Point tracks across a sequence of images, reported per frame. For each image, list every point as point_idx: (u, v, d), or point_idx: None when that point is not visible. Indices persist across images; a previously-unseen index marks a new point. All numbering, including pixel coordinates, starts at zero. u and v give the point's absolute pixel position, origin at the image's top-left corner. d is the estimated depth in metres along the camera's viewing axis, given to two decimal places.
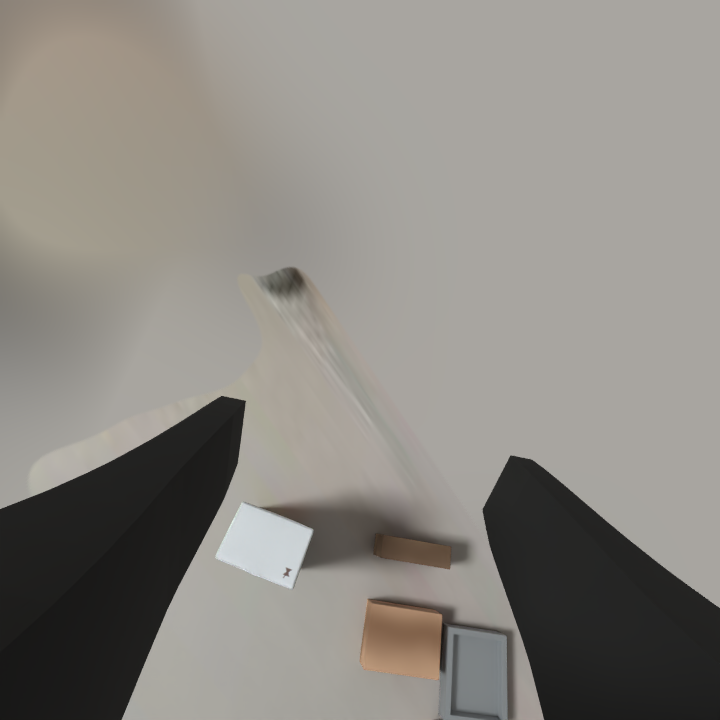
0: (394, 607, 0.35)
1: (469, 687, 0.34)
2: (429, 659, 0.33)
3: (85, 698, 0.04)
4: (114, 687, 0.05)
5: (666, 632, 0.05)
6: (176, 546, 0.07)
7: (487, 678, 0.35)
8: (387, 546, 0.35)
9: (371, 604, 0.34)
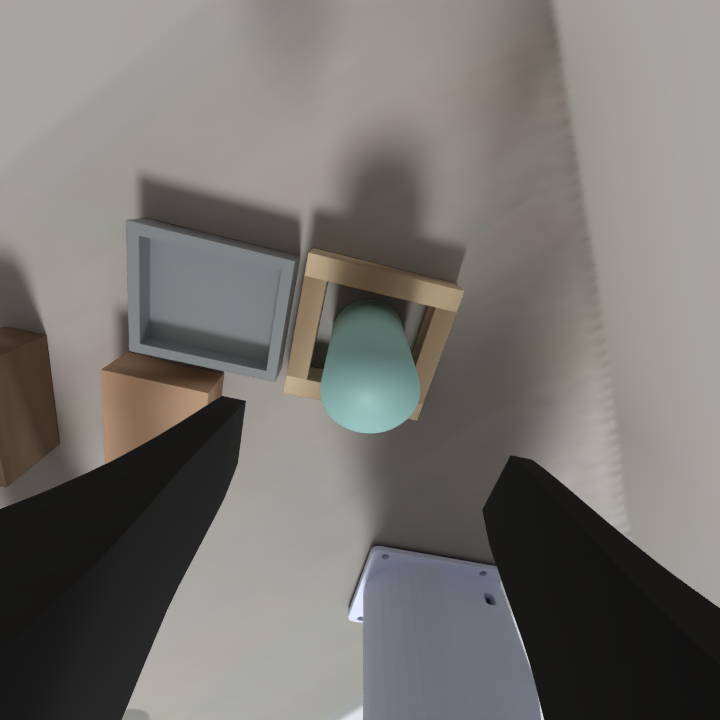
0: (106, 447, 0.19)
1: (238, 314, 0.17)
2: (177, 404, 0.18)
3: (85, 698, 0.04)
4: (114, 687, 0.05)
5: (666, 632, 0.05)
6: (176, 545, 0.07)
7: (223, 273, 0.17)
8: None
9: None
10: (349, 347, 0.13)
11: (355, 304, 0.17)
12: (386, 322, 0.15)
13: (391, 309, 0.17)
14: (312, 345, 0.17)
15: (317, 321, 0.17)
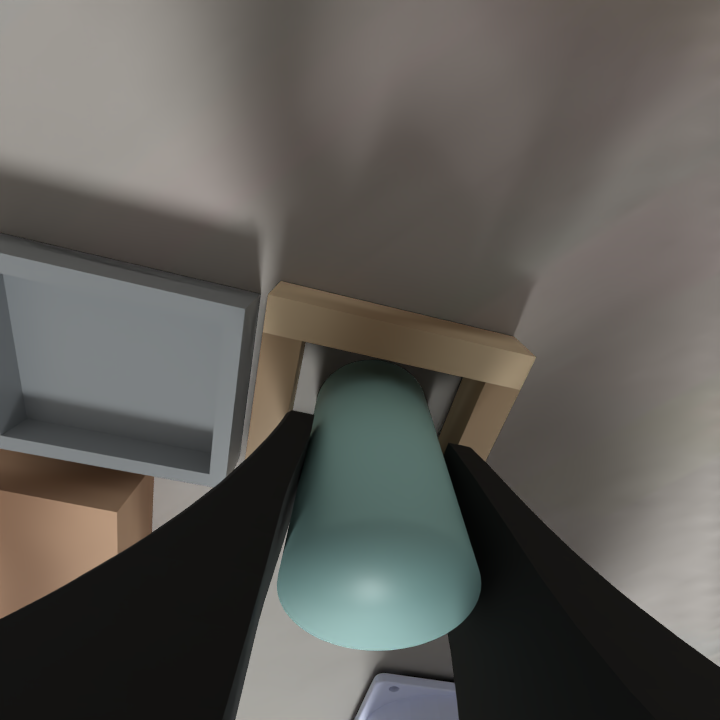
0: None
1: (162, 386, 0.11)
2: (69, 526, 0.11)
3: (232, 716, 0.04)
4: (237, 702, 0.05)
5: (553, 613, 0.05)
6: (272, 561, 0.07)
7: (132, 323, 0.10)
8: None
9: None
10: (336, 513, 0.06)
11: (351, 370, 0.11)
12: (404, 422, 0.08)
13: (409, 377, 0.11)
14: None
15: (288, 403, 0.10)
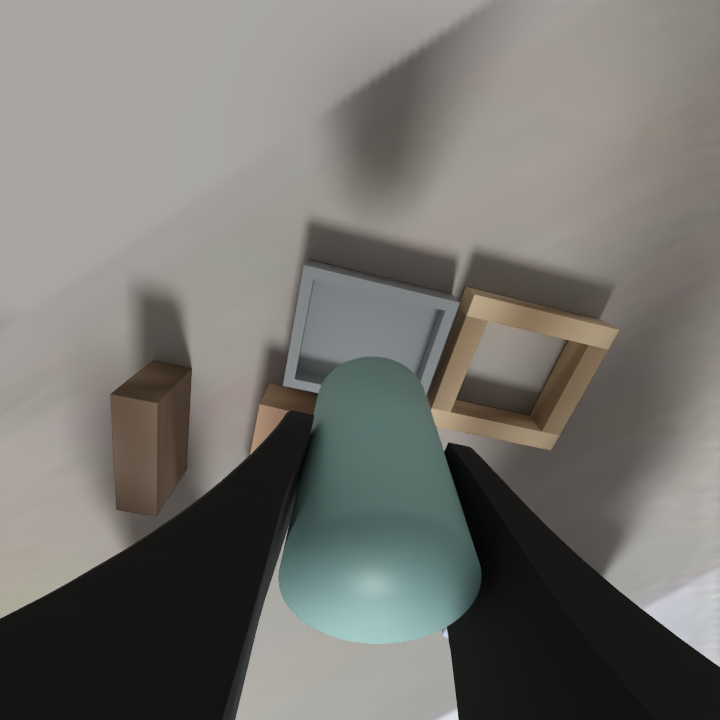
0: None
1: (387, 350, 0.18)
2: None
3: (232, 716, 0.04)
4: (237, 702, 0.05)
5: (552, 613, 0.05)
6: (272, 561, 0.07)
7: (379, 311, 0.17)
8: (136, 505, 0.18)
9: None
10: (337, 507, 0.06)
11: (351, 367, 0.11)
12: (405, 418, 0.08)
13: (409, 373, 0.11)
14: (462, 380, 0.18)
15: (471, 358, 0.17)
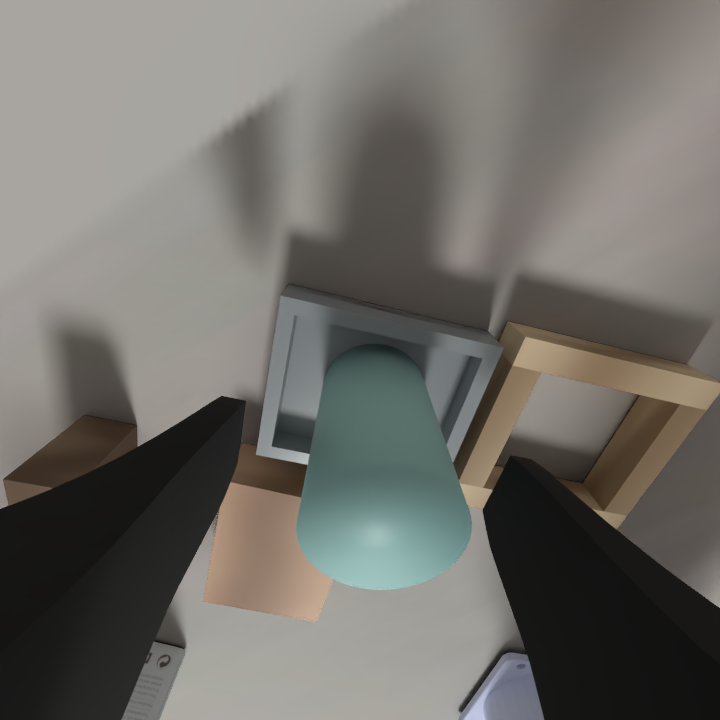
0: (211, 565, 0.15)
1: None
2: None
3: (85, 698, 0.04)
4: (114, 687, 0.05)
5: (666, 632, 0.05)
6: (177, 545, 0.07)
7: None
8: None
9: None
10: (348, 462, 0.07)
11: (356, 352, 0.12)
12: (405, 394, 0.09)
13: (408, 359, 0.12)
14: (500, 448, 0.13)
15: (515, 420, 0.12)
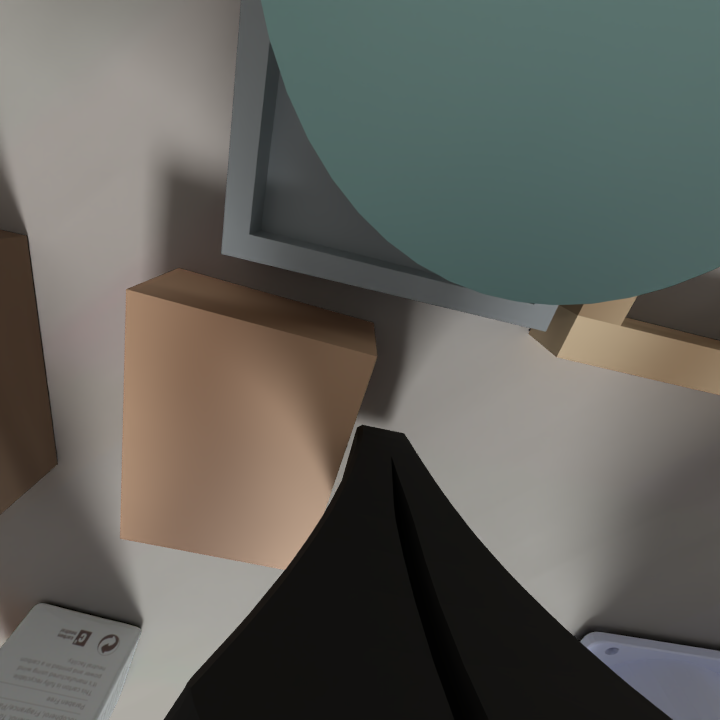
0: None
1: None
2: (299, 381, 0.08)
3: None
4: None
5: (427, 593, 0.05)
6: None
7: None
8: None
9: None
10: None
11: None
12: None
13: None
14: None
15: None
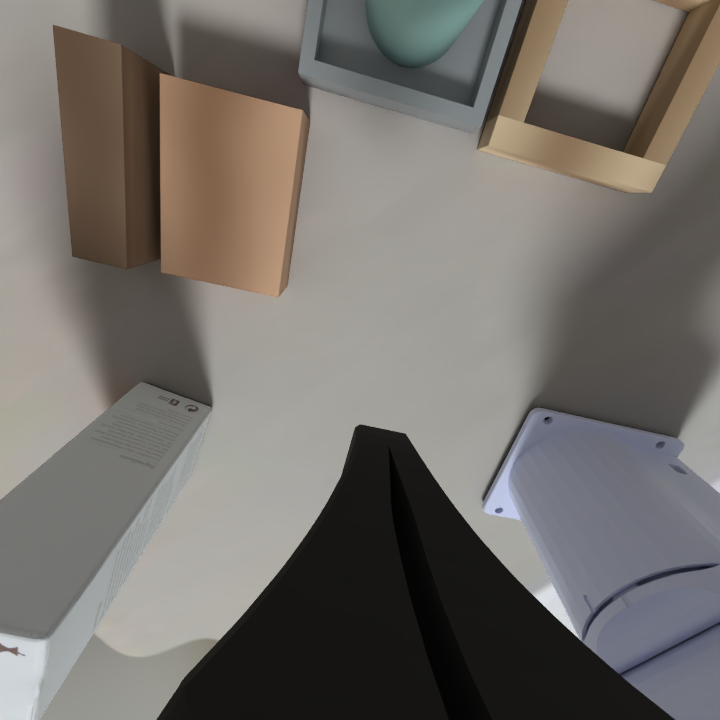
0: (163, 217, 0.15)
1: None
2: (259, 132, 0.13)
3: None
4: None
5: (429, 594, 0.05)
6: None
7: None
8: (98, 247, 0.14)
9: None
10: None
11: None
12: None
13: None
14: (543, 62, 0.13)
15: (559, 18, 0.12)
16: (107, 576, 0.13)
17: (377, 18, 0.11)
